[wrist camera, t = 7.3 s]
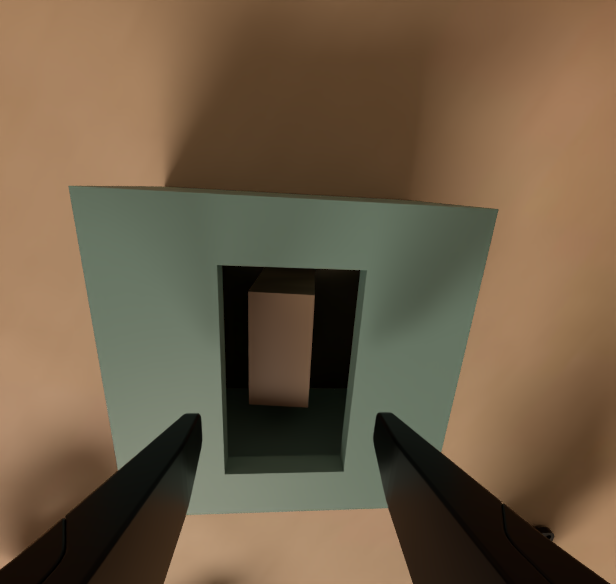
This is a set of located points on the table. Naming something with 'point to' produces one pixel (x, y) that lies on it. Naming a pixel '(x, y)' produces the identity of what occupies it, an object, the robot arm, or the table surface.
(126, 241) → the box
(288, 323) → the rectangular block
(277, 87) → the table surface
